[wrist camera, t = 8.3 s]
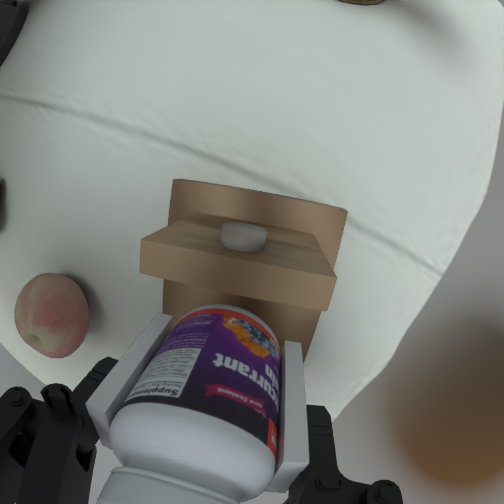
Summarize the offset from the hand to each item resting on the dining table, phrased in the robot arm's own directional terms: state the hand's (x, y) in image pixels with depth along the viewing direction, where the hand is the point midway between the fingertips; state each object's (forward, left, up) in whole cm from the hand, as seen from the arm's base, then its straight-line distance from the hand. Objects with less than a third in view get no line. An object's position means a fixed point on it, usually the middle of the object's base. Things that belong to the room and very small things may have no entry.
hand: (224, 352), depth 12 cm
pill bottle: (0, 0, -1) cm, 1 cm away
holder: (0, 0, -9) cm, 9 cm away
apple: (-17, -6, -9) cm, 20 cm away
